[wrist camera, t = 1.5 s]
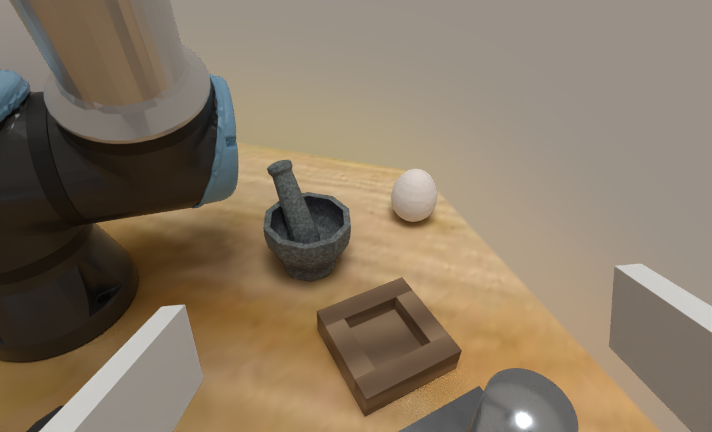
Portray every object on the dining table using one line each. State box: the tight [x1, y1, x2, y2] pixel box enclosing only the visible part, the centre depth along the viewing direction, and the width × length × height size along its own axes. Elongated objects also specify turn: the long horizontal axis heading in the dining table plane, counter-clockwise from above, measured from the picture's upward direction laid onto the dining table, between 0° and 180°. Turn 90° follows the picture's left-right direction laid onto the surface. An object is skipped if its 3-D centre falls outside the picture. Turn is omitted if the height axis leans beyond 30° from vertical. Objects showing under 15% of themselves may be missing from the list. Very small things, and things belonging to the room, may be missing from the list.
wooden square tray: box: [317, 278, 462, 416], centre depth 40 cm, size 10×10×3 cm
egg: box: [391, 169, 437, 222], centre depth 55 cm, size 6×6×8 cm
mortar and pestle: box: [263, 160, 351, 281], centre depth 46 cm, size 11×9×12 cm
